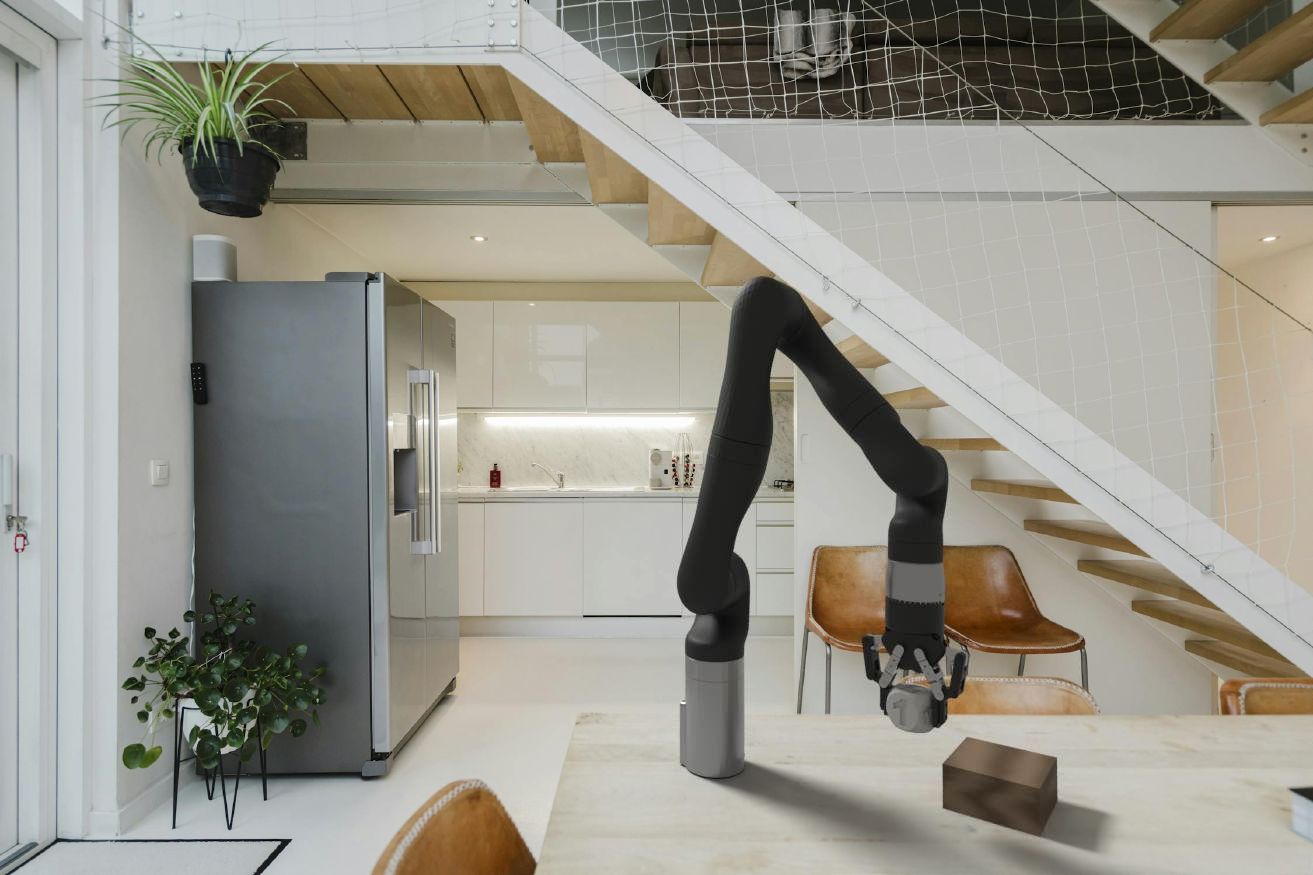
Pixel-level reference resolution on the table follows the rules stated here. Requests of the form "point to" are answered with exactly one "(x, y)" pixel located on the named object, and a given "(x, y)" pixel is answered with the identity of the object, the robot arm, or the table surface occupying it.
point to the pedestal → (1001, 784)
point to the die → (911, 707)
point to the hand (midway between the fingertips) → (913, 719)
